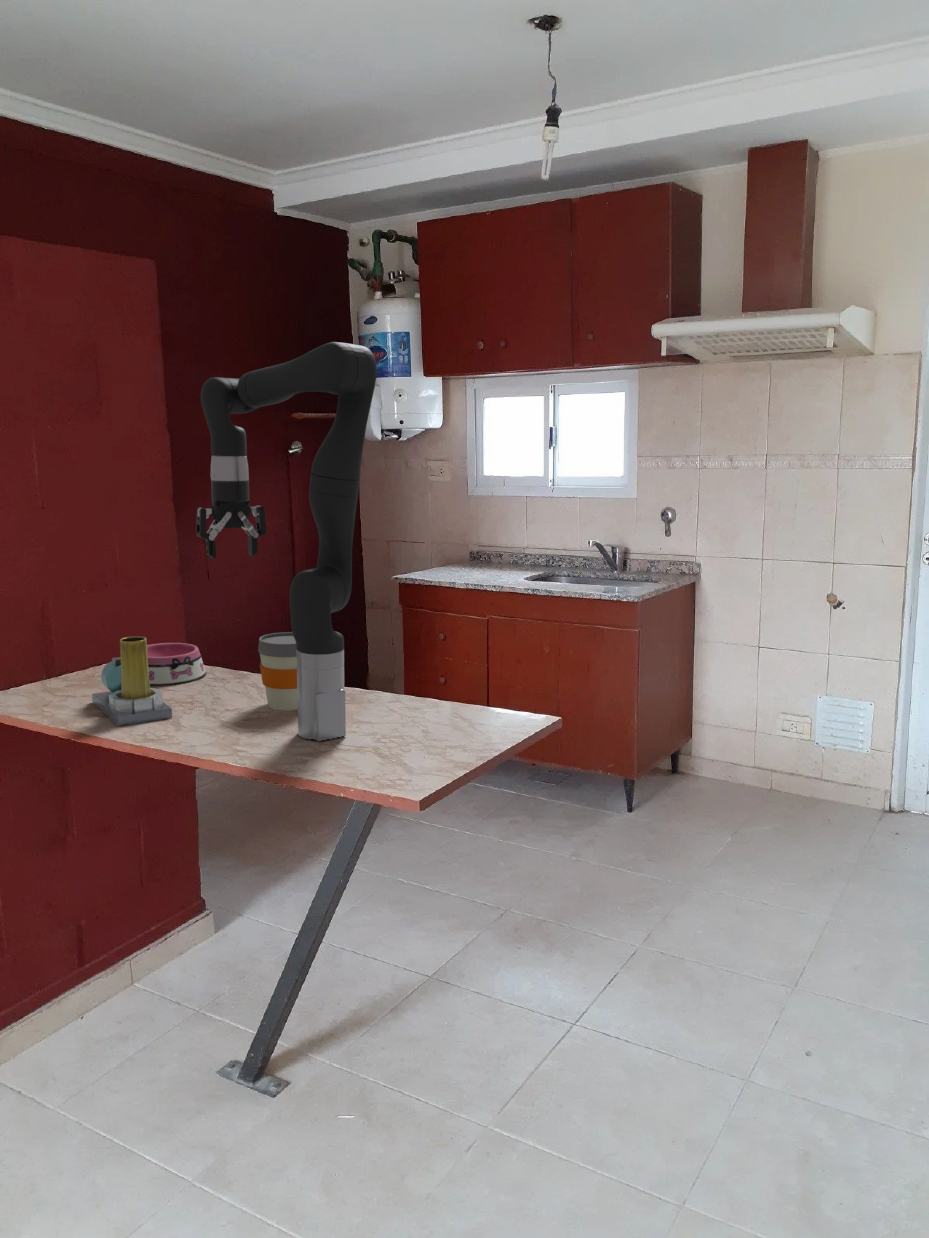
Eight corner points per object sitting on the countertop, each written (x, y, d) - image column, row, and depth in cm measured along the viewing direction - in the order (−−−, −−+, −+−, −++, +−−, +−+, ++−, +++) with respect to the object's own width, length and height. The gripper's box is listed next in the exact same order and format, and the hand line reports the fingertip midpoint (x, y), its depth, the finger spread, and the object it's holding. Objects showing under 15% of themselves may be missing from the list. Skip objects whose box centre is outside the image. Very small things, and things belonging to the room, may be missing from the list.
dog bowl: (147, 691, 220) (146, 662, 219) (113, 675, 234) (111, 648, 232) (220, 677, 233) (219, 650, 232) (183, 663, 246) (182, 637, 245)
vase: (158, 703, 203) (154, 637, 200) (137, 711, 198) (133, 643, 195) (136, 699, 205) (132, 634, 203) (114, 707, 200) (110, 640, 197)
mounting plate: (172, 717, 200) (169, 670, 198) (118, 726, 194) (115, 677, 192) (143, 695, 216) (140, 651, 214) (92, 702, 210) (89, 657, 208)
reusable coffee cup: (323, 698, 216) (322, 632, 213) (309, 714, 204) (308, 645, 201) (269, 695, 217) (267, 630, 214) (251, 711, 205) (249, 643, 202)
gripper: (202, 480, 189) (205, 561, 193) (269, 478, 197) (271, 557, 201) (189, 478, 195) (192, 557, 199) (255, 476, 203) (257, 552, 207)
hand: (232, 557), depth 200 cm, fingers open, 8 cm apart
